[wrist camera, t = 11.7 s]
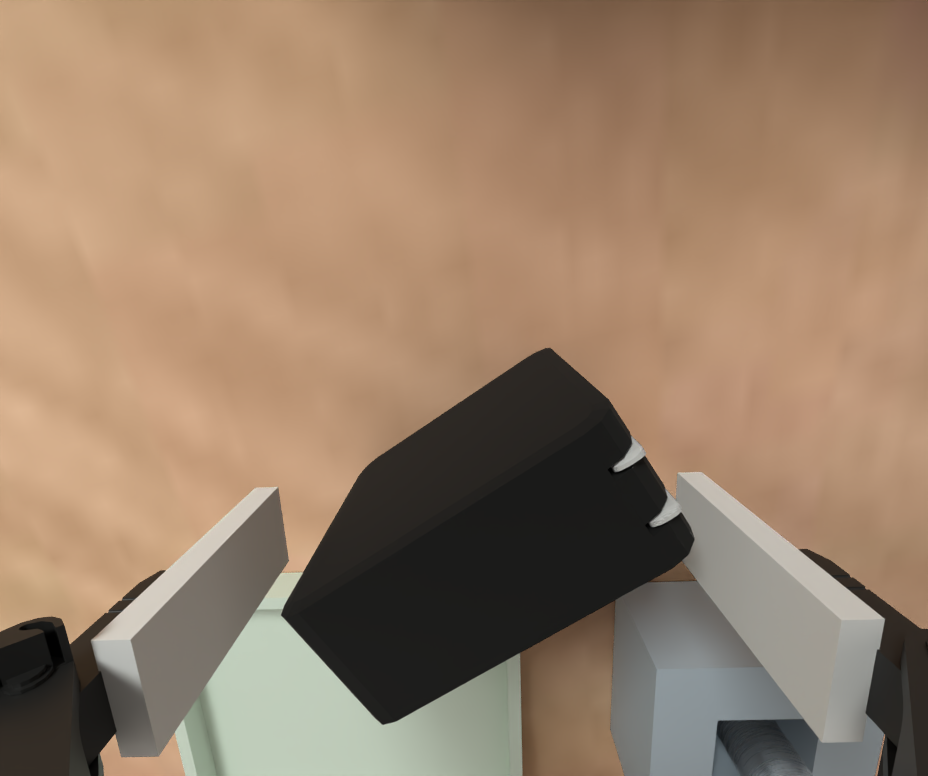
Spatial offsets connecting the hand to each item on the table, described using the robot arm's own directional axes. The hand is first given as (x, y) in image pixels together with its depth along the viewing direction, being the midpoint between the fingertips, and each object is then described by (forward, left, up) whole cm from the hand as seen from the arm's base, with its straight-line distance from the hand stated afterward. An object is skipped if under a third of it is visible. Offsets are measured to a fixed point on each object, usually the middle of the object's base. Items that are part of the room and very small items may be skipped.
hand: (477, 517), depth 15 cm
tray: (+14, -7, -6) cm, 16 cm away
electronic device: (0, 0, -6) cm, 6 cm away
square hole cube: (+12, +11, -6) cm, 17 cm away
